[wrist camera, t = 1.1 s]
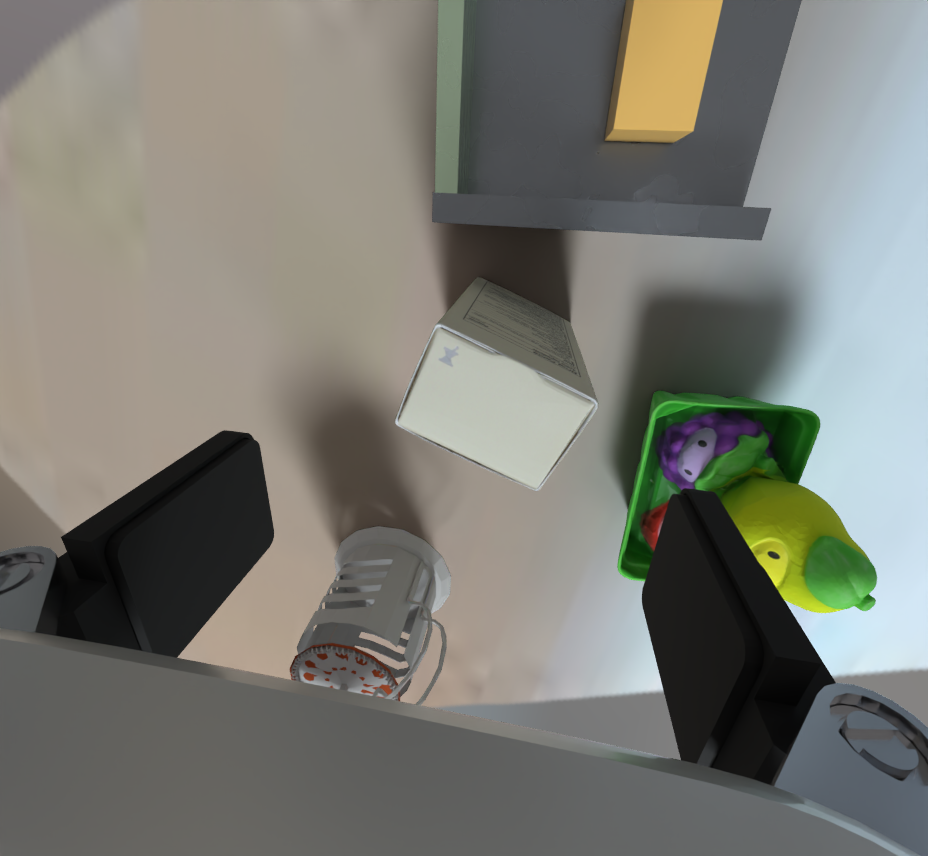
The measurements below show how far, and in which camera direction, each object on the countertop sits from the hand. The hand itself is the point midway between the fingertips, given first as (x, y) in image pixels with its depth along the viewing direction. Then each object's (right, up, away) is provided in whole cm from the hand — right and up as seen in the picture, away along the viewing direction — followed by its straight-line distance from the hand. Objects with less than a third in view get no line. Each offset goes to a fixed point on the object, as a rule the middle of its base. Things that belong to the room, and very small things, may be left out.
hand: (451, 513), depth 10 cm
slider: (+8, +17, +9) cm, 21 cm away
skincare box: (+3, +8, +16) cm, 18 cm away
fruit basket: (+15, 0, +18) cm, 23 cm away
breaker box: (+7, +18, +11) cm, 22 cm away
